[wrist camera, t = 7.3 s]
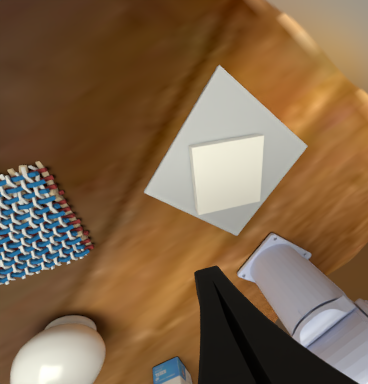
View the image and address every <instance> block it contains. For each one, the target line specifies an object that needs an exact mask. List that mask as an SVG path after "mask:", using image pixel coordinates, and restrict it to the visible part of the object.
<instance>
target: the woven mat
mask: <svg viewBox="0 0 368 384" xmlns="http://www.w3.org/2000/svg"><path fill="white" fill-rule="evenodd" d="M35 163H36V165H37V167H38V168H35V167H33V166H28V167H29V168H30V169H32V170H31V171H29V170H28V167H27V165H21V166H19V173H18V172H15V171H14V169H9V170H7V171H8V172H9V174H10V176H11V177H9V176H8V175H6V176H5V177H4V176H3V174H1V175H0V284H4V283H5V284H9V280H16V279H14V278H13V277H22V279H24V278H25V275H26V274H28V275H33V274H34V273H32V272H36V273H37V274H38V273H40V271H39V270H41V269H42V270H44V269H49V268H50V267H51V269H54V268H55V267H54V265H55V264H56V265H58V266H60V265H62V264H60V262H67V264H69V263H70V260H71V259H74V260H78V258H76V257H80V259H82V258H83V256H84V255H87V253H89V250H90V249H93V248H94V246H93V244H91V242H90V241H91V240H90V239H89V238H88V237H87V236H86V235H88V234H89V233H88V231H83V228H82V226H80V224H79V223H81V222H80V220H79V219H78V220H77V219H76V218H75V214H74V213H72V211H71V208H70V206H68V204H67V201H66V199H64V198H63V196H61V195H63V194H64V192H63V190H59V191H58V188H57V187H58V186H57V185H56V184H55V183H54V182H53V179H54V178H53V176H52V175H49V173H48V172H47V171H48V170H47V168H46V167H45V168H44V167H43V165H42V164H41V163H40V162H39V161H38V162H35ZM40 173H41V174H42V176H43V178H40ZM35 176H36V177H35ZM25 181H27V182H26V183H25ZM13 182H14V183H15V184H14V183H13ZM45 183H46V184H47V185H48V186H46V187H44V186H43V184H45ZM29 188H33V189H34V190H30V189H29ZM48 193H49V194H48ZM2 196H4V197H6V198H5V199H4V198H3V197H2ZM36 196H38V197H39V198H37V199H36ZM53 200H55V201H56V202H54V203H52V201H53ZM8 204H12V206H9V205H8ZM39 204H45V205H44V206H41V205H39ZM60 206H61V207H62V209H59V210H56V209H58V208H61V207H60ZM1 208H2V209H1ZM28 209H29V210H28ZM48 211H50V212H49V213H46V212H48ZM15 212H16V213H17V214H15ZM36 214H37V215H38V216H37V215H36ZM6 215H8V216H6ZM69 220H70V221H69ZM68 222H69V223H68ZM73 226H74V227H73ZM26 227H27V228H26ZM46 228H47V229H46ZM73 228H74V229H73ZM16 229H19V230H16ZM40 238H41V239H40ZM38 239H39V240H38ZM10 240H12V241H10ZM84 244H85V245H86V246H85V245H84ZM18 268H19V269H18Z"/></svg>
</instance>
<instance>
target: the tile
mask: <svg viewBox="0 0 368 384" xmlns="http://www.w3.org/2000/svg"><path fill="white" fill-rule="evenodd" d="M188 146H189V155H190V164H191V173H192V182H193V192H194V201H195V210H196V211H197V213H198V215H202V214H206V213H210V212H215V211H219V210H224V209H228V208H232V207H237V206H241V205H246V204H250V203H254V202H259V201H260V194H261V178H262V163H263V147H264V135H260V134H253V135H247V136H242V137H236V138H230V139H224V140H218V141H212V142H206V143H200V144H194V145H188Z"/></svg>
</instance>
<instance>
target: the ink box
mask: <svg viewBox="0 0 368 384" xmlns="http://www.w3.org/2000/svg"><path fill="white" fill-rule="evenodd" d="M153 383H154V384H192V380H191V375H190V374H189V372H188V371H187V369H186V368H185V366H184V365H183V364H182V362H181V361H180V360H179V358H178V357H175V358H173V359H171V360H169V361H166V362H164V363H162V364H160V365H158V366H156V367H153Z"/></svg>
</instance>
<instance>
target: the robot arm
mask: <svg viewBox="0 0 368 384" xmlns="http://www.w3.org/2000/svg"><path fill="white" fill-rule="evenodd" d="M310 257H311V253H310V252H308V251H306V250H304V249H302V248H300V247H299V246H297V245H295V244H293V243H291V242H289V241H287V240H285V239H284V238H282V237H280V236H278V235H276V234H274V233H271V234H270V235H269V236H268V237H267V238H266V239H265V240H264V242H263V243H262V244H261V245H260V246H259V247H258V249H257V250H256V251H255V252H254V253H253V255H252V256H251V257H250V258H249V259H248V261H247V262H246V263H245V264H244V265H243V266H242V268H241V269H240V270H239V271H238V273H237V275H238V277H240V278H243V279H246V280H249V281H252V282H255V283H256V284H257V286H258V287H259V289H260V290H261V292H262V293H263V295H264V296H265V298H266V299H267V300H268V302H269V303H270V305H271V306H272V308H273V309H274V311H275V312H276V314H277V315H278V317H279V318H280V320H281V321H282V323H283V324H284V326H285V327H286V329H287V330H288V332H289V333H290V335H291V336H292V337H290V336H289V335H288V334H287V333H285V332H284V331H283V330H282V329H280V328H279V327H278V326H277V325H275V324H274V323H273V322H272V321H271V320H270V319H268V318H267V317H266V316H265V315H264V314H263V313H262V312H260V311H259V310H258V309H257V308H256V307H255V306H254V305H253V304H252V303H251V302H250V301H249V300H248V299H247V298H246V297H245V296H244V295H243V294H242V293H241V292H240V291H239V290H238V289H237V288H236V287H235V286H234V285H233V284H232V283H231V281H230V280H229V279H228V278H227V277H226V276H225V275H224V273H223V272H222V271H221V270H220V268H219V267H218V266H213V267H209V268H205V269H202V270H198V271H196V272H195V273H194V275H195V282H196V290H197V296H198V300H199V304H200V360H199V376H198V384H368V301H367V300H362V299H358V300H357V301H355V303H354V302H353V301H351V300H350V299H349V298H348V297H347V296H346V294H345V293H344V292H343V291H342V290H341V289H340V288H339V287H338V286H337V285H336V284H334V283H333V282H332V281H331V280H330V279H329V278H327V276H326V275H324V274H323V273H322V272H321V271H320V270H319V269H318V268H317V267H315V266H314V265H313V264H312V263H311V262H310V261H309V260H308V259H309V258H310Z"/></svg>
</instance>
